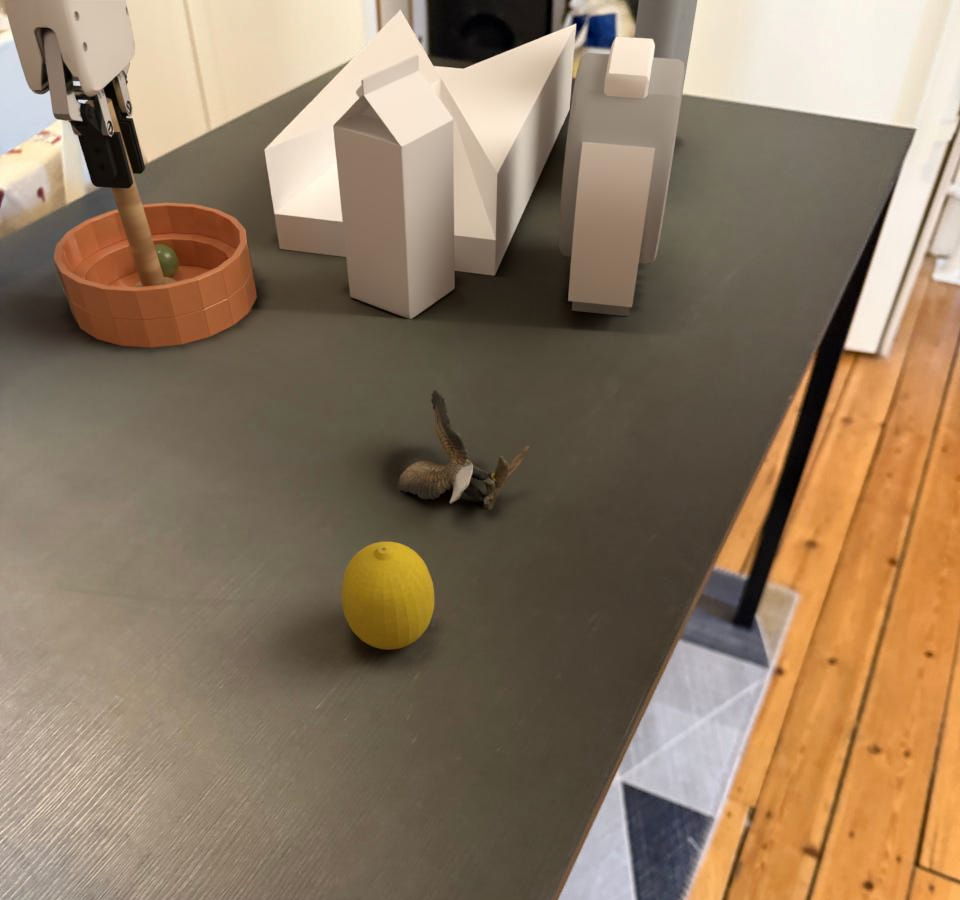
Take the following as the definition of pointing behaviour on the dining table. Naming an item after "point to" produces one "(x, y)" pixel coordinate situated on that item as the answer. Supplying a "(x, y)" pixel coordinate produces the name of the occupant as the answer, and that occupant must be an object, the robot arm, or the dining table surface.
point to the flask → (667, 27)
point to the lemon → (387, 595)
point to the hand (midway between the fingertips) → (119, 177)
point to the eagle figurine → (455, 467)
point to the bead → (167, 260)
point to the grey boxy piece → (617, 170)
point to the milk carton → (397, 191)
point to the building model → (476, 142)
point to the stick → (136, 225)
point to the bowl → (163, 308)
